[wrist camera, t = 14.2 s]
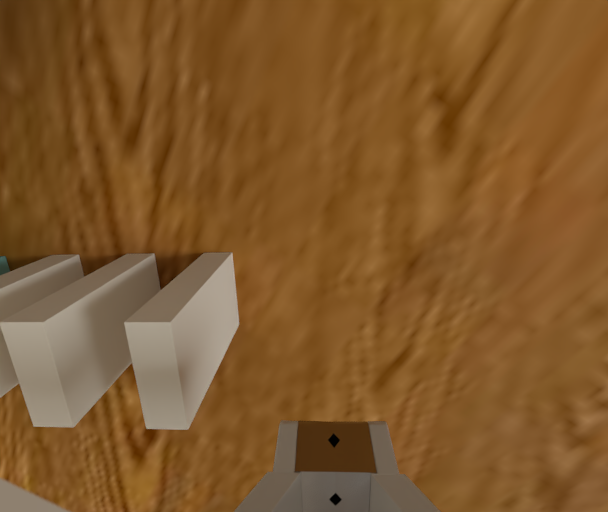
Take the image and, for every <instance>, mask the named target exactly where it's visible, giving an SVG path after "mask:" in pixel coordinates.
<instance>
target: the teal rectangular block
mask: <svg viewBox="0 0 608 512" xmlns="http://www.w3.org/2000/svg"><path fill="white" fill-rule="evenodd" d="M8 272H10V269H9V266H8V263H7V260H6V256H0V275H3V274H5V273H8Z"/></svg>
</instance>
